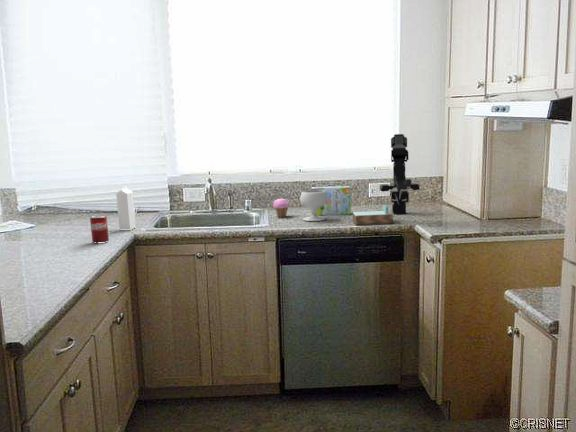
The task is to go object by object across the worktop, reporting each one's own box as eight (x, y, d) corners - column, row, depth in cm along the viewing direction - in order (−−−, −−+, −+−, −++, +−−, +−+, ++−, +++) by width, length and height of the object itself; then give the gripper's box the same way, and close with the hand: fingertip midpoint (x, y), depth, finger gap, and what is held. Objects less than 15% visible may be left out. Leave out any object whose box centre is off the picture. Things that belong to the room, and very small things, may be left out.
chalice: (317, 216, 315) (316, 188, 313) (333, 219, 304) (332, 190, 301) (295, 219, 308) (294, 191, 305) (311, 223, 296) (310, 193, 294)
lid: (386, 211, 297) (386, 204, 296) (390, 215, 287) (390, 207, 286) (353, 213, 297) (352, 205, 296) (355, 216, 286) (355, 208, 286)
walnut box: (388, 219, 298) (388, 210, 297) (392, 223, 286) (392, 214, 286) (352, 220, 298) (352, 212, 297) (355, 225, 286) (355, 216, 286)
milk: (119, 230, 296) (115, 187, 293) (125, 228, 302) (121, 185, 298) (130, 230, 295) (126, 187, 291) (136, 228, 301) (132, 185, 297)
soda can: (94, 241, 273) (92, 215, 271) (110, 240, 274) (108, 214, 272) (90, 244, 266) (88, 218, 264) (107, 243, 267) (104, 217, 265)
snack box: (350, 213, 322) (350, 185, 320) (350, 214, 317) (350, 186, 314) (312, 213, 325) (311, 186, 322) (311, 215, 319) (310, 187, 317)
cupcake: (289, 217, 314) (288, 199, 312) (273, 218, 314) (272, 199, 313) (289, 215, 323) (289, 197, 321) (274, 215, 323) (273, 197, 321)
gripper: (383, 175, 280) (383, 208, 283) (422, 174, 280) (422, 206, 283) (379, 173, 291) (379, 204, 294) (416, 171, 291) (416, 202, 294)
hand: (399, 204), depth 291 cm, fingers closed
